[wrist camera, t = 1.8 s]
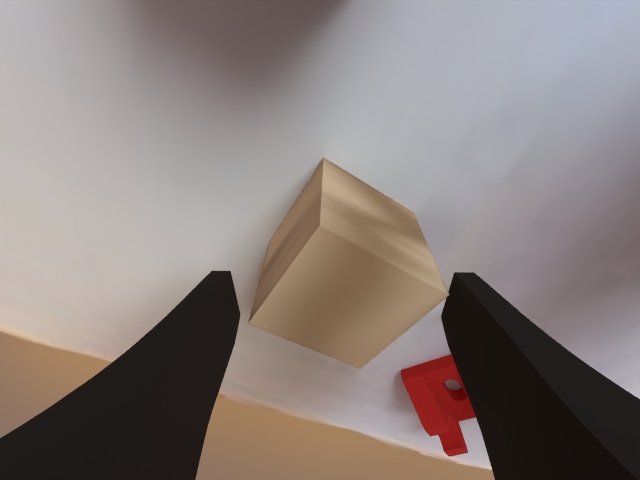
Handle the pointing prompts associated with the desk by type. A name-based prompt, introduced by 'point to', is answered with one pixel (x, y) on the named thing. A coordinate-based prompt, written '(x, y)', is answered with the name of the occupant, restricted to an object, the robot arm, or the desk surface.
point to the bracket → (439, 401)
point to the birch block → (346, 270)
